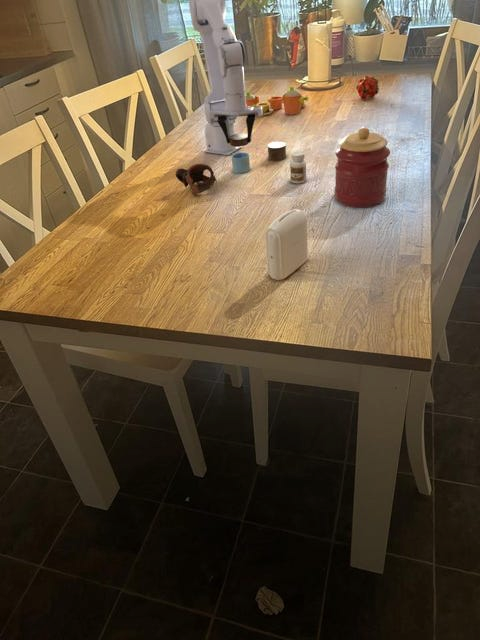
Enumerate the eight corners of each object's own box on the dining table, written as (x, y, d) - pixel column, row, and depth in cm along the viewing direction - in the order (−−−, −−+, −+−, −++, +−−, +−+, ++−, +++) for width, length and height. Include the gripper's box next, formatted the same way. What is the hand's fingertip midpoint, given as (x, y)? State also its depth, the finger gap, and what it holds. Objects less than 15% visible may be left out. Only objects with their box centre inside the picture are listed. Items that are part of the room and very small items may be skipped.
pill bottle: (288, 183, 139) (288, 156, 135) (292, 177, 142) (292, 150, 138) (304, 184, 138) (303, 156, 133) (307, 178, 141) (307, 151, 136)
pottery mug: (219, 183, 145) (220, 164, 138) (210, 208, 142) (210, 190, 134) (180, 173, 146) (178, 153, 138) (170, 198, 142) (168, 180, 134)
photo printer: (282, 283, 100) (279, 227, 92) (265, 276, 102) (261, 222, 95) (310, 260, 106) (310, 206, 98) (294, 255, 108) (292, 202, 101)
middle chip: (264, 153, 155) (264, 146, 153) (273, 147, 158) (273, 141, 157) (280, 155, 152) (280, 148, 151) (289, 149, 155) (288, 142, 154)
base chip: (265, 159, 156) (264, 153, 155) (274, 153, 159) (273, 147, 158) (280, 161, 153) (280, 155, 152) (289, 155, 157) (289, 149, 155)
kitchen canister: (355, 213, 121) (359, 140, 110) (324, 195, 131) (325, 127, 120) (396, 199, 125) (404, 127, 115) (363, 183, 135) (368, 116, 124)
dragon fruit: (370, 97, 206) (366, 110, 199) (354, 85, 205) (349, 97, 197) (384, 80, 200) (380, 92, 192) (367, 67, 198) (362, 79, 191)
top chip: (226, 145, 145) (225, 138, 144) (236, 139, 149) (236, 132, 147) (242, 147, 142) (241, 140, 141) (252, 141, 146) (251, 134, 145)
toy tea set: (308, 103, 201) (308, 78, 195) (307, 115, 189) (306, 87, 183) (245, 107, 206) (243, 82, 200) (239, 118, 194) (237, 91, 188)
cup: (230, 172, 150) (228, 157, 147) (239, 166, 153) (237, 151, 151) (244, 174, 148) (242, 159, 145) (253, 168, 151) (252, 153, 148)
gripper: (206, 97, 135) (212, 147, 143) (259, 94, 133) (262, 145, 141) (211, 91, 141) (216, 139, 149) (261, 88, 138) (264, 137, 146)
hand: (239, 141), depth 145 cm, fingers closed on top chip, 5 cm apart
